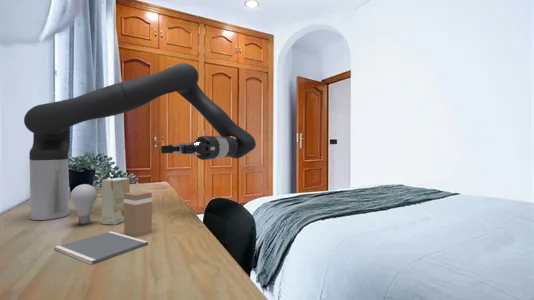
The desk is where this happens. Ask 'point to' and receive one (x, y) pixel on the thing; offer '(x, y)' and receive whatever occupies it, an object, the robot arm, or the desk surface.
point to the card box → (137, 213)
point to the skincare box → (114, 199)
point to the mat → (100, 247)
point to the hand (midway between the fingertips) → (171, 149)
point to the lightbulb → (83, 201)
